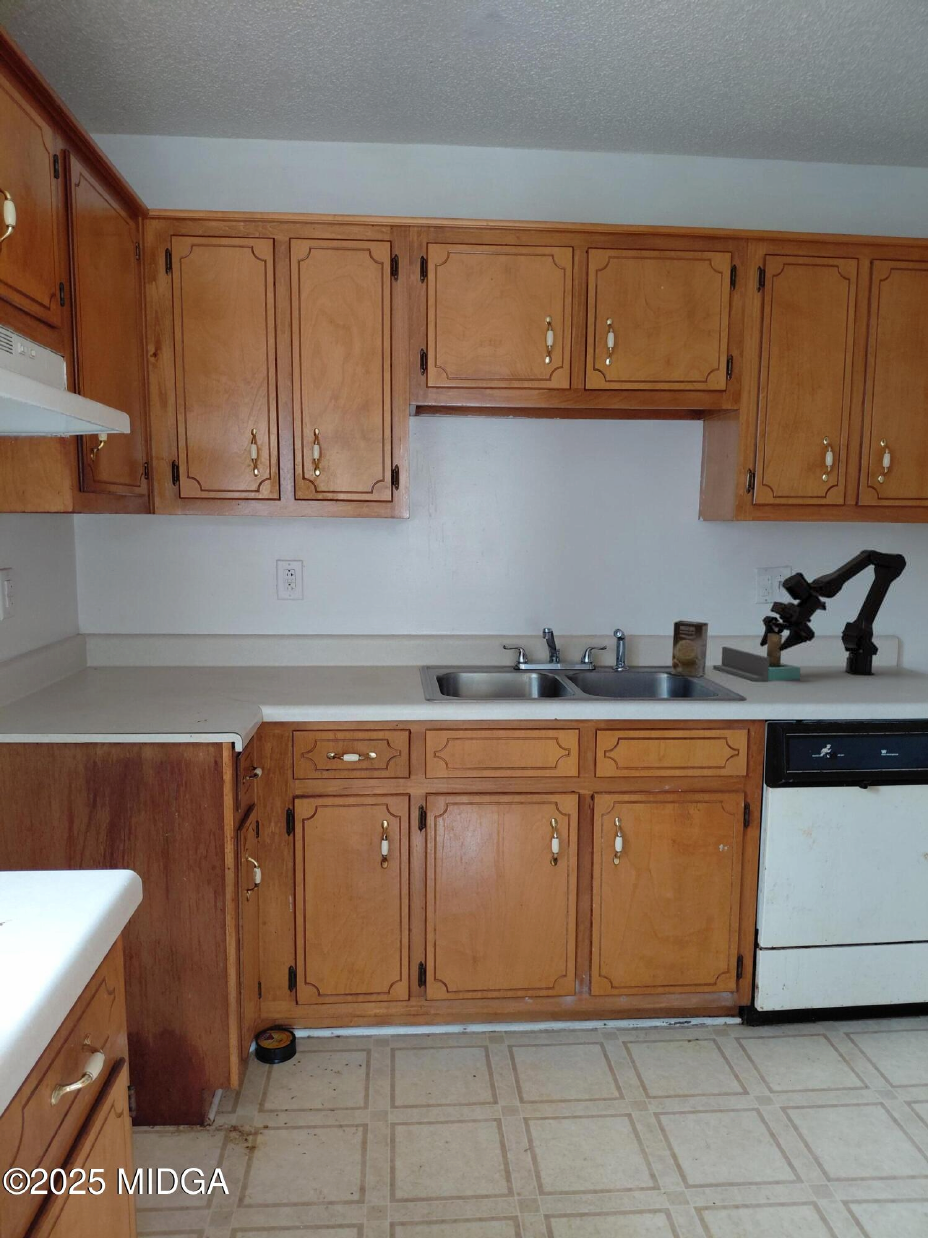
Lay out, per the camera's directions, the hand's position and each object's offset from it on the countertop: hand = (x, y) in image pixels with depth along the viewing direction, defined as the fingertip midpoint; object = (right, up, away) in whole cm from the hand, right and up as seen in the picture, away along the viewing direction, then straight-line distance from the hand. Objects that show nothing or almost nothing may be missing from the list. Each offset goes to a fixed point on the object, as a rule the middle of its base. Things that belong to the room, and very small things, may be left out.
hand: (770, 647), depth 261 cm
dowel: (+1, -8, +1) cm, 8 cm away
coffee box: (-24, -8, +4) cm, 25 cm away
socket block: (+1, -9, +1) cm, 10 cm away
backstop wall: (-8, -8, +4) cm, 12 cm away
